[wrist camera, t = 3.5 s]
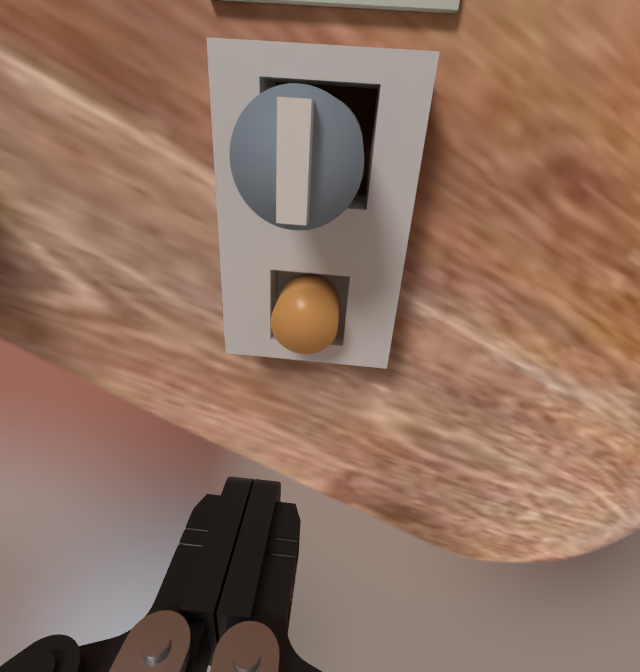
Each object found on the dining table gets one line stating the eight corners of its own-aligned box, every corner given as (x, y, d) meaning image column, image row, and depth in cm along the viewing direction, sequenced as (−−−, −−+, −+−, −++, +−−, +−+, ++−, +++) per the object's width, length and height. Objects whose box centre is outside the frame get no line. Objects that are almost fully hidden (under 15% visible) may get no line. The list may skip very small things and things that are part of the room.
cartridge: (366, 99, 22) (373, 86, 11) (358, 186, 24) (356, 241, 14) (284, 93, 22) (217, 76, 12) (283, 180, 24) (226, 230, 14)
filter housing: (232, 49, 21) (206, 37, 18) (426, 61, 21) (439, 51, 17) (242, 323, 29) (225, 353, 25) (383, 337, 28) (386, 368, 25)
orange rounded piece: (280, 271, 24) (270, 290, 21) (342, 276, 23) (340, 297, 21) (279, 326, 25) (270, 350, 23) (337, 331, 25) (335, 357, 22)
